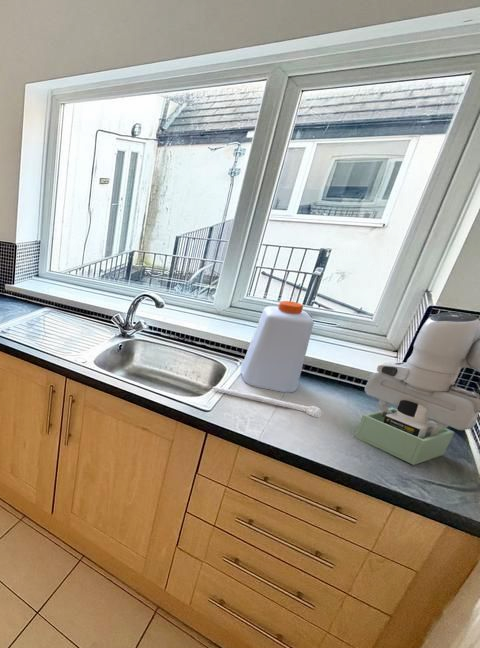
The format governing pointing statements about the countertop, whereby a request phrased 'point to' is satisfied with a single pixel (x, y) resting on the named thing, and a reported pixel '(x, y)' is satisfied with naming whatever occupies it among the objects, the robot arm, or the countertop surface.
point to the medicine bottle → (410, 419)
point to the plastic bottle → (278, 348)
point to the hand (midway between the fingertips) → (406, 425)
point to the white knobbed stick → (273, 401)
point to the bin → (401, 439)
